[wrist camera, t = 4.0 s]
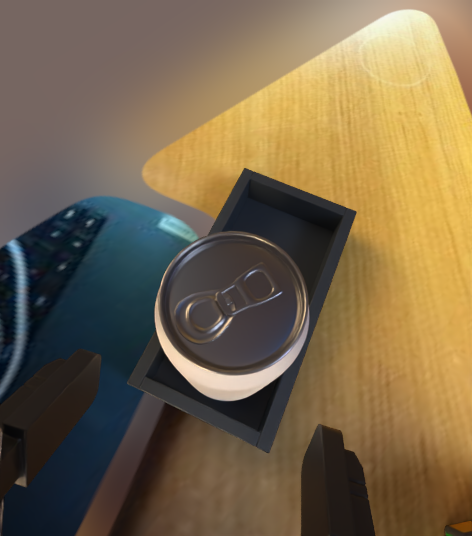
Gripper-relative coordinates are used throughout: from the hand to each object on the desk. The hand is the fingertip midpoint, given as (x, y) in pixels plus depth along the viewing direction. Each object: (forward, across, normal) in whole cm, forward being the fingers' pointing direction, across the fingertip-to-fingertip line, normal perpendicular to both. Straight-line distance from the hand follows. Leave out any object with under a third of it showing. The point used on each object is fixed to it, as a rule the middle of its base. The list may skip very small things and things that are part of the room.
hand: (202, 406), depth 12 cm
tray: (+14, -1, +2) cm, 14 cm away
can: (+11, 0, +5) cm, 12 cm away
